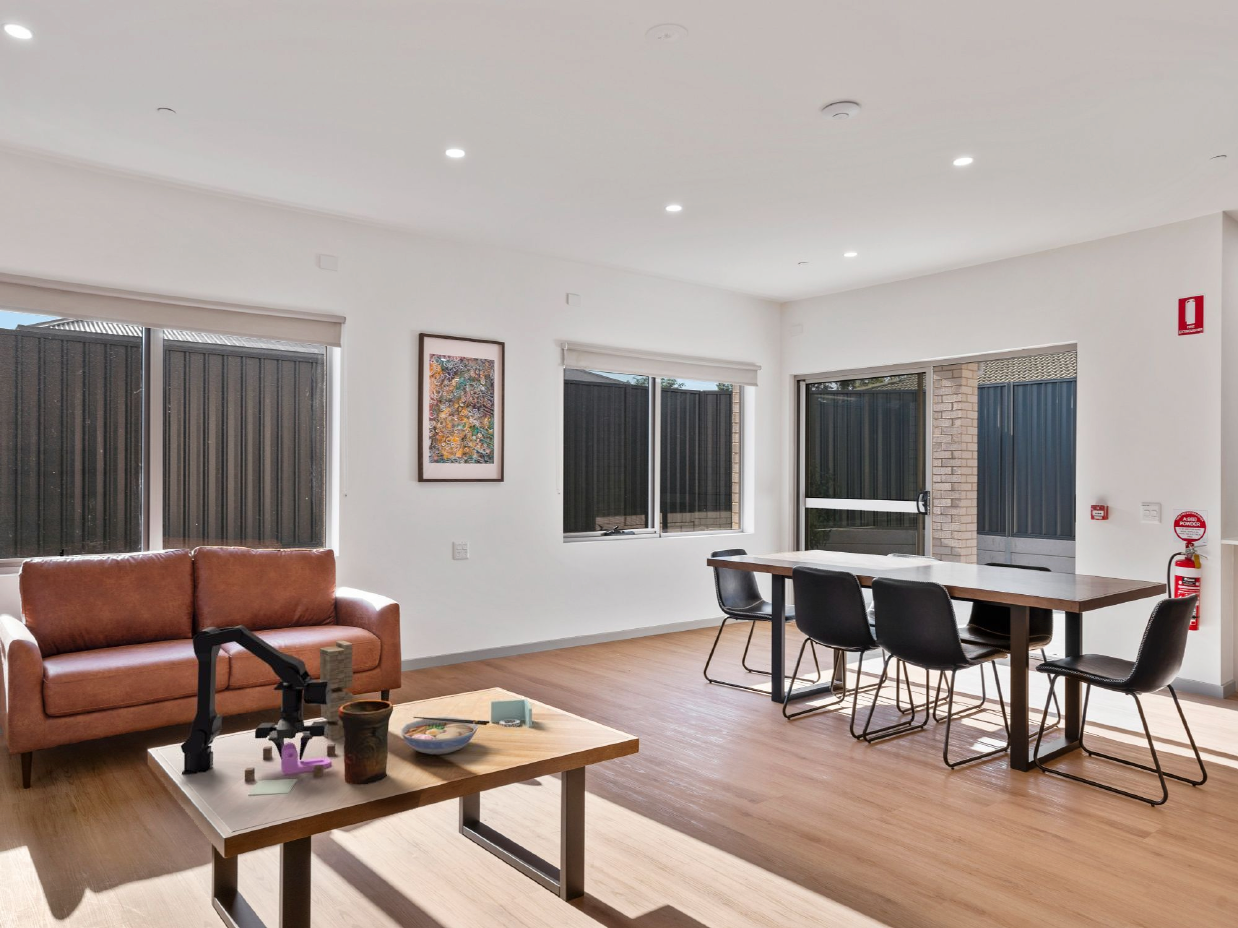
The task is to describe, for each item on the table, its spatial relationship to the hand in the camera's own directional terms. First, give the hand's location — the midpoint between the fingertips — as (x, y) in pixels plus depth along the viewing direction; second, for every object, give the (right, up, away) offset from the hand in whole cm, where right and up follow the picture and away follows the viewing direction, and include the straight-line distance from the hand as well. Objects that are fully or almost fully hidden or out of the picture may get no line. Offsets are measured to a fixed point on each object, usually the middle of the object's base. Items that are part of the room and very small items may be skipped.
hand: (291, 759), depth 245 cm
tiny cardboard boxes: (0, -2, 0) cm, 2 cm away
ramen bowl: (+39, -2, +13) cm, 41 cm away
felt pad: (+1, -2, -16) cm, 16 cm away
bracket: (+5, -2, -1) cm, 5 cm away
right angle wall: (+57, -3, +38) cm, 69 cm away
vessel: (+24, -2, -9) cm, 25 cm away
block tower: (+3, -2, +29) cm, 29 cm away
